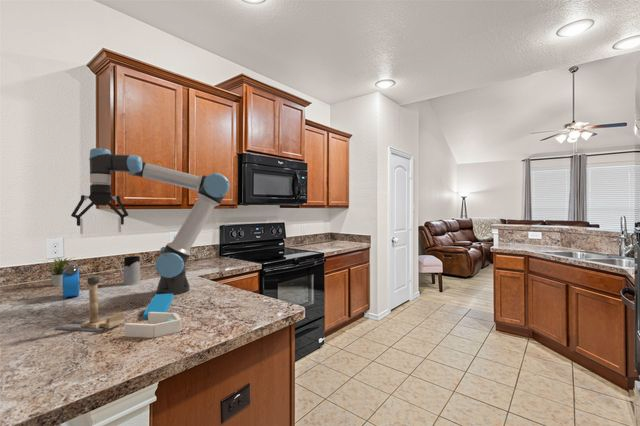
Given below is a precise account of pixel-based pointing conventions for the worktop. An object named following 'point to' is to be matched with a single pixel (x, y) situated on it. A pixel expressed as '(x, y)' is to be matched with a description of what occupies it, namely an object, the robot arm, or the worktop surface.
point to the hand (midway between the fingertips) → (101, 232)
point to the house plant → (58, 271)
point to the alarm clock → (71, 281)
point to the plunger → (93, 307)
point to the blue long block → (159, 304)
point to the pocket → (155, 325)
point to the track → (79, 327)
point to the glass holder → (131, 270)
